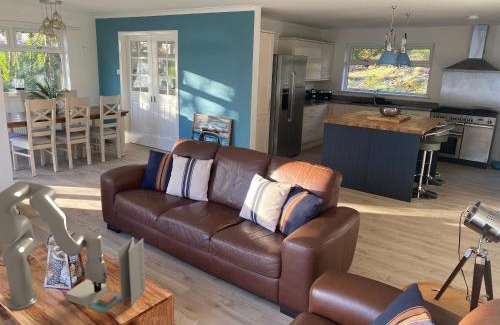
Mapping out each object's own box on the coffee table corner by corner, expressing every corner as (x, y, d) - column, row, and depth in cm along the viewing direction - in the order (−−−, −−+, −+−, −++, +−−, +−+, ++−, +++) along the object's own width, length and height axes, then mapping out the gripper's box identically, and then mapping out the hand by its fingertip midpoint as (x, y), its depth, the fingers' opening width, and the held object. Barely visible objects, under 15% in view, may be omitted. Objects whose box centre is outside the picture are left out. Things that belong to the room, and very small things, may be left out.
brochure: (132, 306, 185) (128, 251, 177) (121, 304, 186) (118, 250, 178) (145, 289, 198) (143, 238, 190) (135, 288, 199) (133, 236, 191)
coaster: (107, 302, 184) (108, 305, 184) (116, 295, 189) (116, 298, 190) (98, 299, 186) (98, 302, 186) (106, 292, 191) (107, 295, 192)
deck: (66, 300, 188) (65, 293, 187) (88, 285, 200) (87, 278, 199) (86, 307, 183) (85, 299, 182) (107, 291, 196) (106, 284, 195)
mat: (88, 307, 183) (88, 307, 183) (108, 291, 195) (108, 291, 195) (104, 313, 179) (104, 312, 179) (124, 297, 192) (124, 296, 192)
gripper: (77, 258, 182) (80, 291, 187) (101, 265, 177) (104, 299, 182) (89, 251, 189) (92, 283, 194) (112, 258, 184) (115, 291, 189)
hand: (98, 291), depth 188 cm, fingers closed
